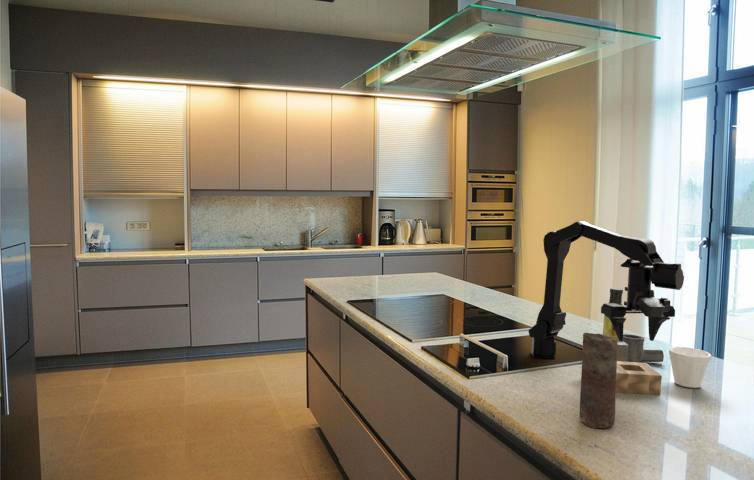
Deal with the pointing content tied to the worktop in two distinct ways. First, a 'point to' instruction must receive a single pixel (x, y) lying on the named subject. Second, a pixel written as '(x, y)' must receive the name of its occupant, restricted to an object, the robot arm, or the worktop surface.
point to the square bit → (622, 351)
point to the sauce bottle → (608, 327)
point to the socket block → (637, 378)
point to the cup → (689, 366)
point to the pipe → (641, 350)
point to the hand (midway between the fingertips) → (636, 340)
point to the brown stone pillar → (598, 380)
